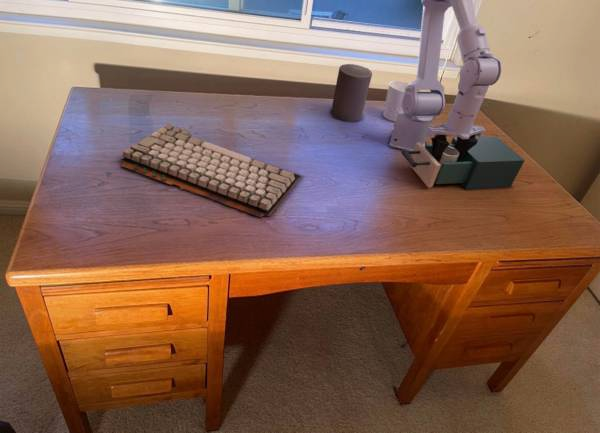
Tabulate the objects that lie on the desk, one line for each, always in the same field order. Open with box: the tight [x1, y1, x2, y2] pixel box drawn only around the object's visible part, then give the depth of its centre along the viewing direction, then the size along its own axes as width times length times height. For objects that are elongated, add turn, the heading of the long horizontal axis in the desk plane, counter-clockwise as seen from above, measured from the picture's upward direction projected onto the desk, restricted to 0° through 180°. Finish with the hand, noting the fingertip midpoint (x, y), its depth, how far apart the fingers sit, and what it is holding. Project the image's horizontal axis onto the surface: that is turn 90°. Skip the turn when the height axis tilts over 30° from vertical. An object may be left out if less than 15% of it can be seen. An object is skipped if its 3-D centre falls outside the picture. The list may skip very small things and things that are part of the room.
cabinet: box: [450, 136, 526, 191], centre depth 111 cm, size 14×12×8 cm
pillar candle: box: [330, 63, 373, 122], centre depth 127 cm, size 10×10×15 cm
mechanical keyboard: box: [120, 123, 302, 218], centre depth 98 cm, size 38×19×3 cm, turn 68°
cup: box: [439, 146, 459, 170], centre depth 107 cm, size 5×5×4 cm
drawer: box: [400, 143, 475, 188], centre depth 107 cm, size 17×10×6 cm, turn 105°
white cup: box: [382, 80, 410, 123], centre depth 132 cm, size 8×8×10 cm
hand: (444, 161), depth 107 cm, fingers closed on cup, 5 cm apart
